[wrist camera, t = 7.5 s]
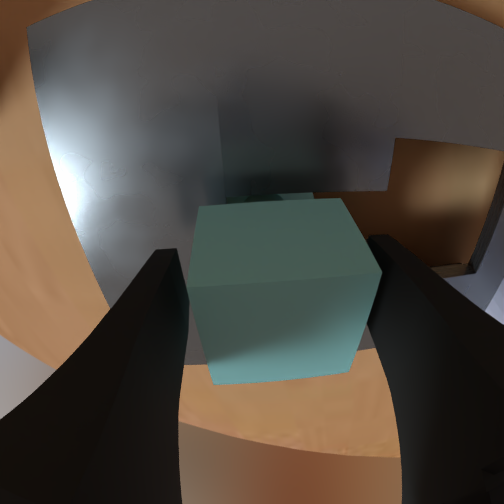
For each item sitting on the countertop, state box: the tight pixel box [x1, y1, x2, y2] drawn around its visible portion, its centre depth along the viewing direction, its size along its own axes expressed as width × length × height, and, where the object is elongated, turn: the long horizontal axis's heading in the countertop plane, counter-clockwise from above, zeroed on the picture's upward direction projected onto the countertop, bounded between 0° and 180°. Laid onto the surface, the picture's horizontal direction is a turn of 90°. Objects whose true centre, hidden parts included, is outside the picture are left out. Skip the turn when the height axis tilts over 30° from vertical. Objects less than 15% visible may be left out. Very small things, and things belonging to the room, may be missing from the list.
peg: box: [186, 192, 382, 385], centre depth 11 cm, size 4×4×8 cm
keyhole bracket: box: [27, 0, 504, 365], centre depth 12 cm, size 20×16×4 cm
